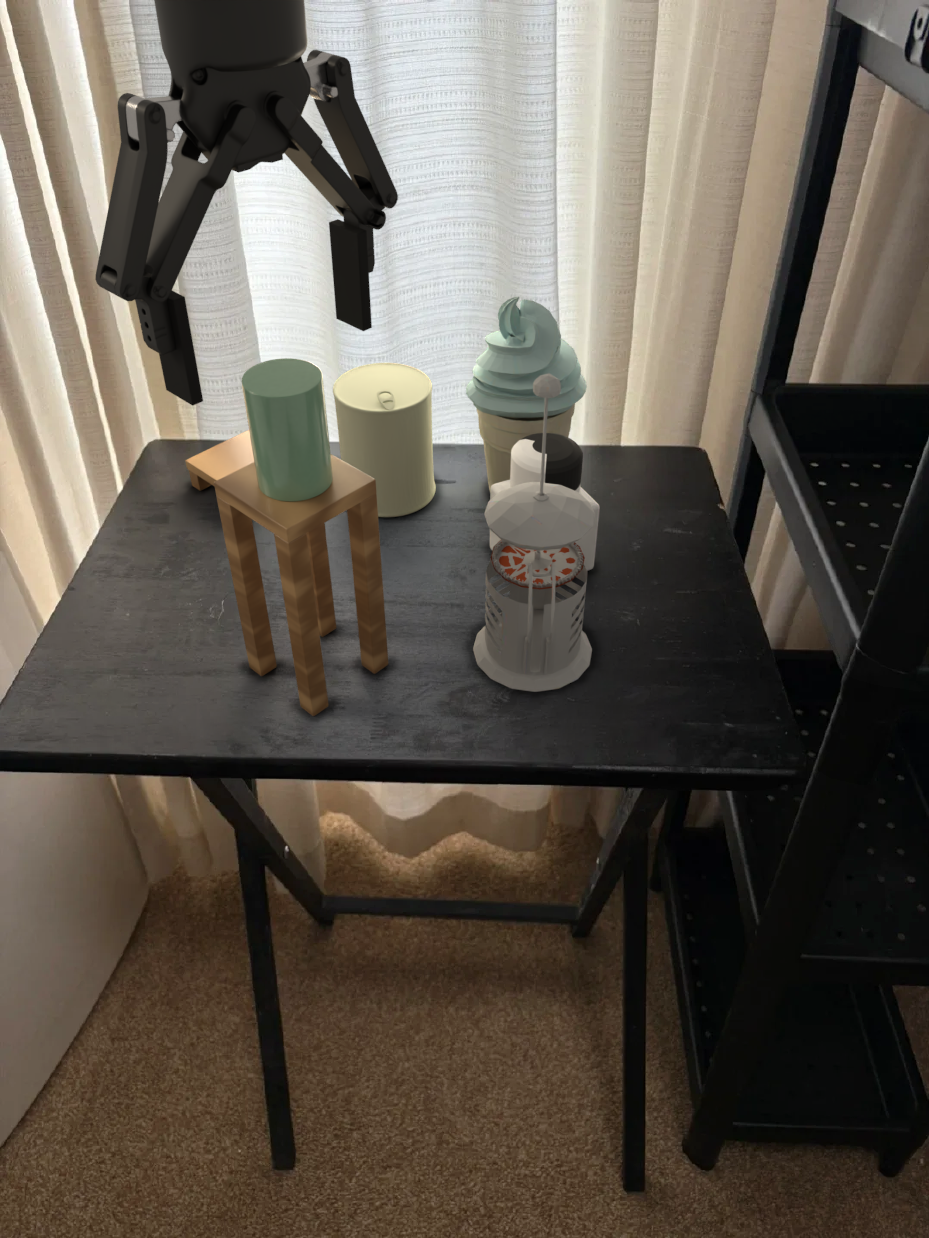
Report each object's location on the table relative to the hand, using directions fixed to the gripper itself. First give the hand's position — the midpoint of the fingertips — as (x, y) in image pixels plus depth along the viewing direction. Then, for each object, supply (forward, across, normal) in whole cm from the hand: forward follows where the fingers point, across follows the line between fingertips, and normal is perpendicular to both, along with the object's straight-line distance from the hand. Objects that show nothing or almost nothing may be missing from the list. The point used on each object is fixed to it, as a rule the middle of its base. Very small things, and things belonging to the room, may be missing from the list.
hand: (274, 358), depth 66 cm
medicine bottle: (+27, +24, -4) cm, 36 cm away
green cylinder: (+9, 0, 0) cm, 9 cm away
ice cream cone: (+27, +31, +5) cm, 41 cm away
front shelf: (+27, +1, 0) cm, 27 cm away
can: (+27, +22, +14) cm, 38 cm away
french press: (+27, +13, -12) cm, 33 cm away
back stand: (+27, +13, +25) cm, 39 cm away
